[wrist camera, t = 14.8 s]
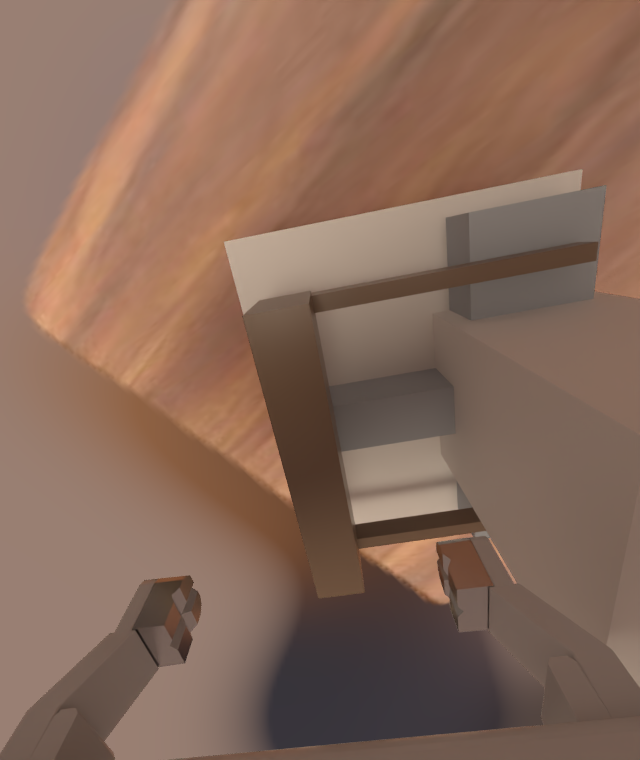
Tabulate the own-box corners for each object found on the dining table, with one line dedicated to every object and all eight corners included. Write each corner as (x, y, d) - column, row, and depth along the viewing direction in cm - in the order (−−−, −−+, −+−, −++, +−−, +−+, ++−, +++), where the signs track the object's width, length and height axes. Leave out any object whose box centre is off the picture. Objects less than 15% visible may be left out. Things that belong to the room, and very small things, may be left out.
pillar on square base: (250, 243, 26) (-5, 231, 5) (502, 192, 25) (1401, -71, 4) (307, 475, 34) (290, 824, 13) (499, 445, 33) (802, 779, 12)
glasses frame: (259, 300, 17) (242, 315, 13) (578, 239, 16) (659, 237, 12) (318, 540, 22) (318, 598, 19) (553, 506, 21) (603, 561, 18)
